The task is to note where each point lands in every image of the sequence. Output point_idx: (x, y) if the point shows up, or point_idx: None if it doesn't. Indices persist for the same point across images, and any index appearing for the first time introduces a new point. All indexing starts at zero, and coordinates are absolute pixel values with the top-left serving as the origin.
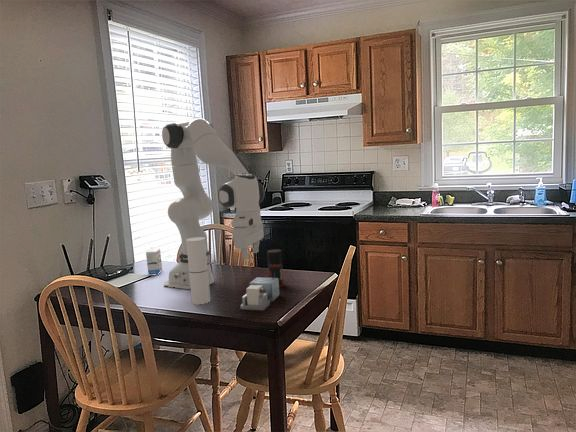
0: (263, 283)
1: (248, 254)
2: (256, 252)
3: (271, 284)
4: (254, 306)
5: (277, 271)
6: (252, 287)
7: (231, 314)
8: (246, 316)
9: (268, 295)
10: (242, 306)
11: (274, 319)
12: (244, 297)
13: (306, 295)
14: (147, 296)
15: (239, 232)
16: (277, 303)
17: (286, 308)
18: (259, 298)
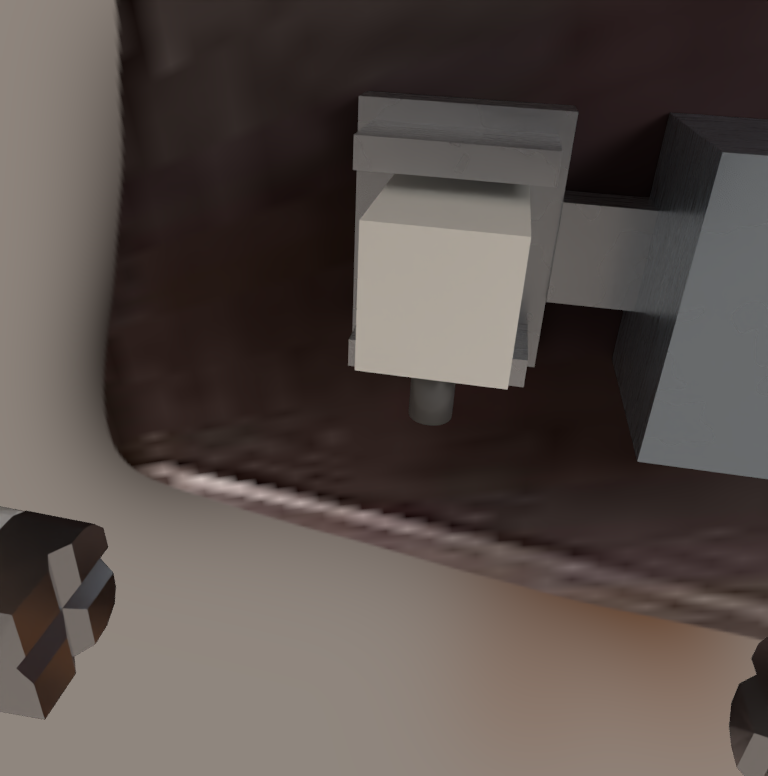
0: (664, 365)
1: (44, 690)
2: (736, 721)
3: (635, 454)
4: (355, 258)
5: None
6: (413, 290)
7: (214, 42)
8: (197, 218)
9: (628, 348)
10: (361, 120)
11: (187, 443)
12: (353, 168)
13: (758, 597)
14: None
15: None
16: (551, 407)
17: (422, 489)
18: (349, 342)
